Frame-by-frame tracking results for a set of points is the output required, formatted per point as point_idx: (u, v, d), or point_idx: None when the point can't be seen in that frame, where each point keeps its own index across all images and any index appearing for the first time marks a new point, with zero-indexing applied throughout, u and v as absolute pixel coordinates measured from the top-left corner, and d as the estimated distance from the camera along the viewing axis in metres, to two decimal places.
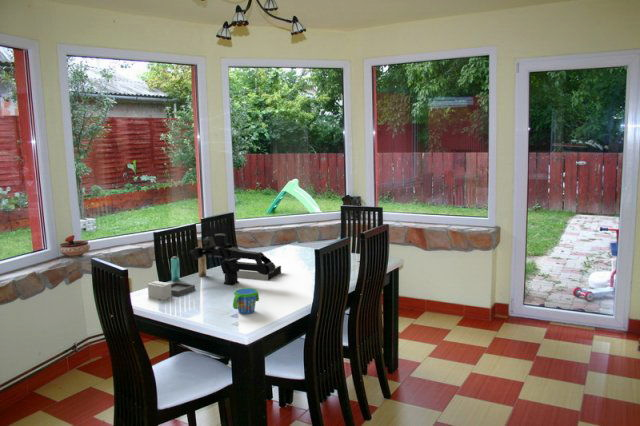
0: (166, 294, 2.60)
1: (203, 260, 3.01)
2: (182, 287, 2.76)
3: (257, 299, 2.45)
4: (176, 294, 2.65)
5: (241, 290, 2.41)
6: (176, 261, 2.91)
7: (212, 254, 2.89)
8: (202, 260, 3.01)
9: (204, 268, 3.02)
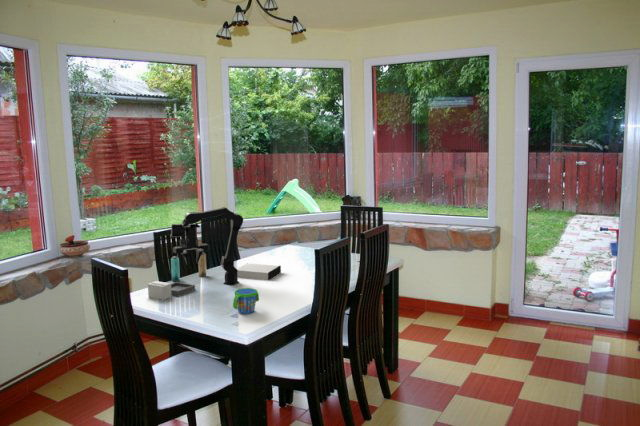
0: (166, 294, 2.60)
1: (203, 260, 3.01)
2: (182, 287, 2.76)
3: (257, 299, 2.45)
4: (176, 294, 2.65)
5: (241, 290, 2.41)
6: (176, 261, 2.91)
7: (187, 238, 2.75)
8: (202, 260, 3.01)
9: (204, 268, 3.02)
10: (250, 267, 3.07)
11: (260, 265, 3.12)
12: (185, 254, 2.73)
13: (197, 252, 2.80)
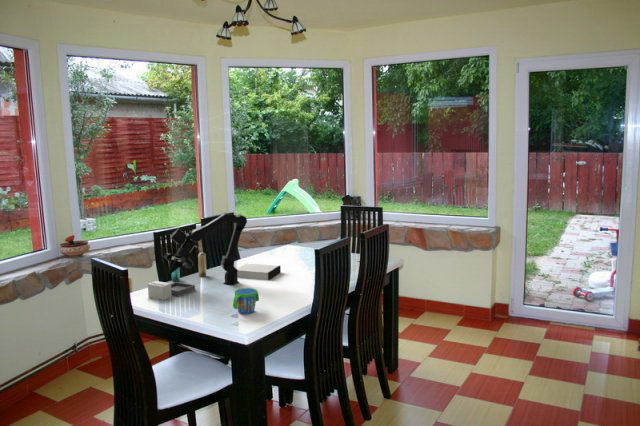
0: (166, 294, 2.60)
1: (203, 260, 3.01)
2: (182, 287, 2.76)
3: (257, 299, 2.45)
4: (176, 294, 2.65)
5: (241, 290, 2.41)
6: None
7: None
8: (202, 260, 3.01)
9: (204, 268, 3.02)
10: (250, 267, 3.07)
11: (260, 265, 3.12)
12: (170, 260, 2.71)
13: None
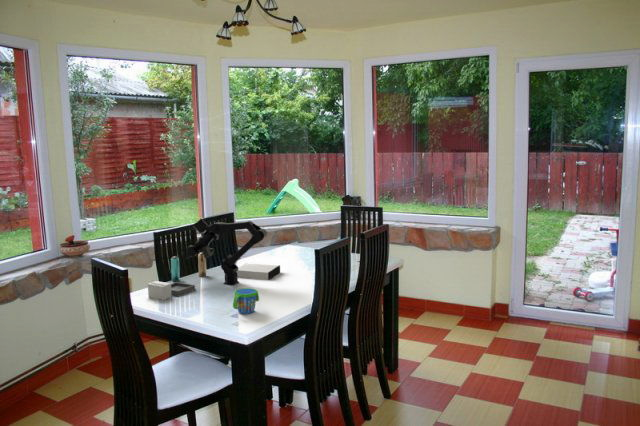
0: (166, 294, 2.60)
1: (203, 260, 3.01)
2: (182, 287, 2.76)
3: (257, 299, 2.45)
4: (176, 294, 2.65)
5: (241, 290, 2.41)
6: (176, 261, 2.91)
7: None
8: (202, 260, 3.01)
9: (204, 268, 3.02)
10: (249, 267, 3.08)
11: (259, 265, 3.12)
12: None
13: None
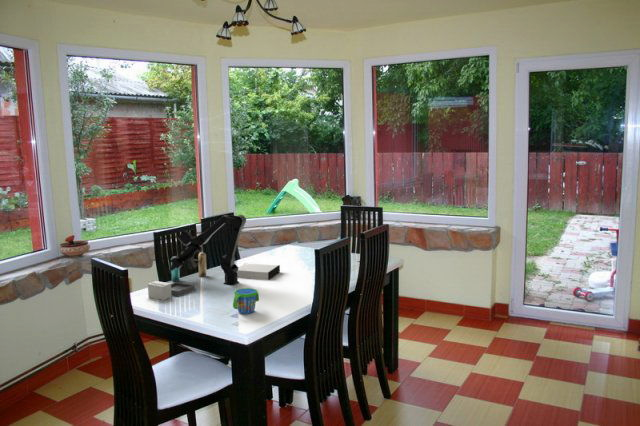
0: (166, 294, 2.60)
1: (203, 260, 3.01)
2: (182, 287, 2.76)
3: (257, 299, 2.45)
4: (176, 294, 2.65)
5: (241, 290, 2.41)
6: None
7: None
8: (202, 260, 3.01)
9: (204, 268, 3.02)
10: (249, 267, 3.08)
11: (259, 265, 3.13)
12: None
13: None
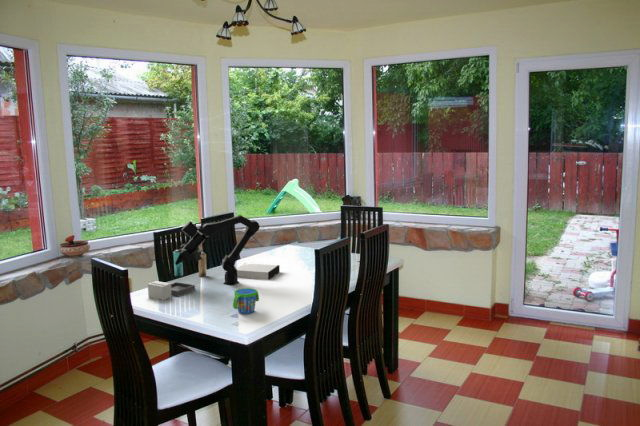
0: (166, 294, 2.60)
1: (203, 260, 3.01)
2: (182, 287, 2.76)
3: (257, 299, 2.45)
4: (176, 294, 2.65)
5: (241, 290, 2.41)
6: None
7: None
8: (202, 260, 3.01)
9: (204, 268, 3.02)
10: (249, 267, 3.08)
11: (259, 265, 3.13)
12: None
13: None
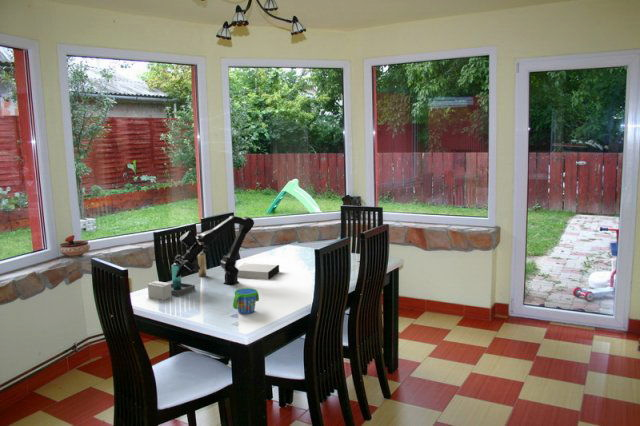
0: (166, 294, 2.60)
1: (203, 260, 3.01)
2: (182, 287, 2.76)
3: (257, 299, 2.45)
4: (176, 294, 2.65)
5: (241, 290, 2.41)
6: None
7: None
8: (202, 260, 3.01)
9: (204, 268, 3.02)
10: (249, 267, 3.08)
11: (258, 265, 3.13)
12: (175, 260, 2.77)
13: None
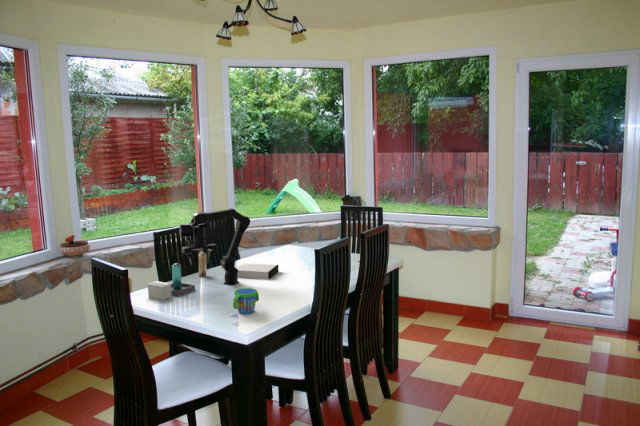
0: (166, 294, 2.60)
1: (204, 260, 3.01)
2: (182, 287, 2.76)
3: (257, 299, 2.45)
4: (176, 294, 2.65)
5: (241, 290, 2.41)
6: (180, 268, 2.71)
7: (195, 238, 2.74)
8: (203, 260, 3.01)
9: (205, 268, 3.02)
10: (248, 267, 3.08)
11: (257, 265, 3.13)
12: (190, 254, 2.72)
13: (208, 252, 2.81)
